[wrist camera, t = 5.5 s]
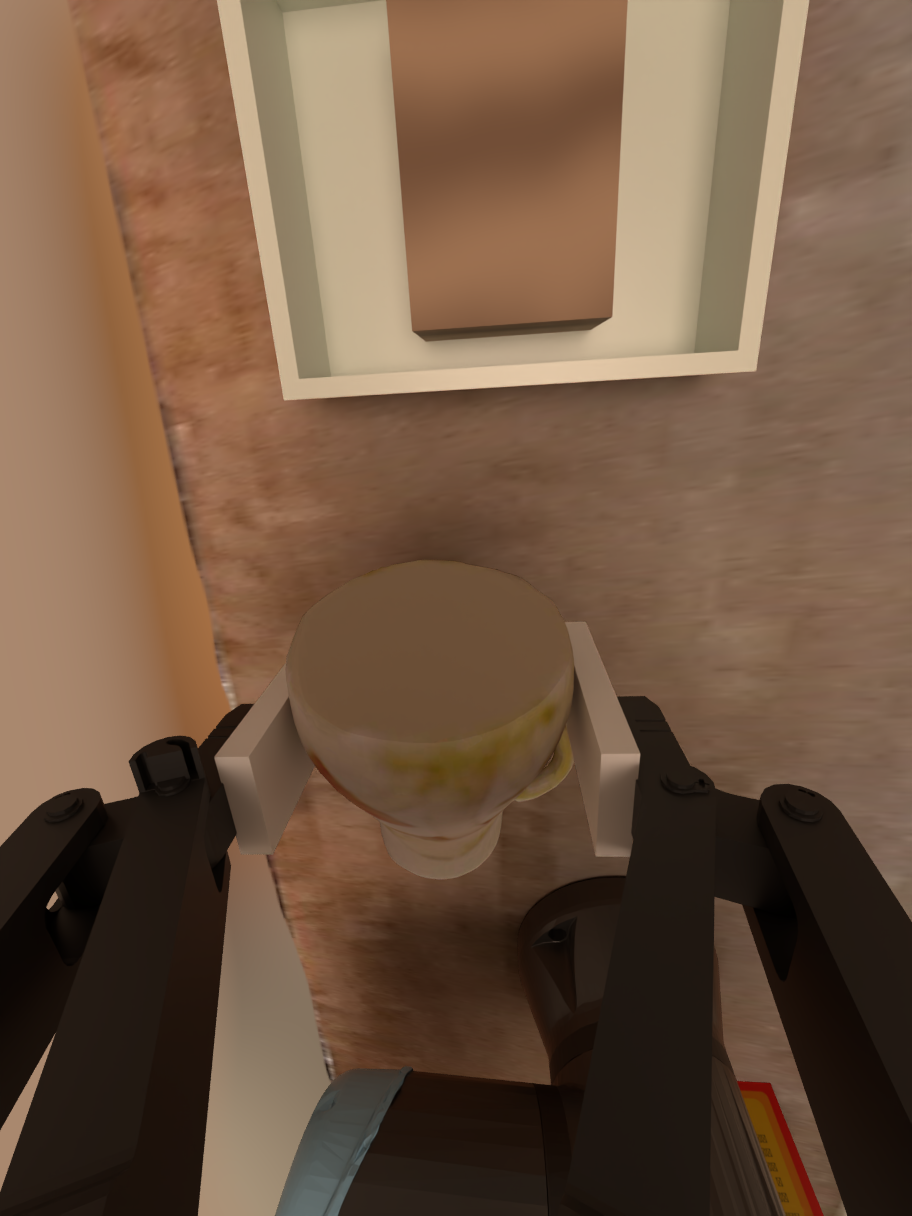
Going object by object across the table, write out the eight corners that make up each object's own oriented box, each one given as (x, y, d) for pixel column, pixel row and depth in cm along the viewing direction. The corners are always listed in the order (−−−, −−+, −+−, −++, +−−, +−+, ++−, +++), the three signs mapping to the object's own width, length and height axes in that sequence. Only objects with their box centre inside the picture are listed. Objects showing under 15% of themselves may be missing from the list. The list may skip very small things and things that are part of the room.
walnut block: (590, 330, 26) (612, 317, 21) (426, 341, 26) (412, 331, 22) (601, 24, 21) (631, -76, 17) (405, 46, 22) (382, -45, 17)
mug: (361, 818, 21) (164, 948, 11) (411, 575, 21) (267, 495, 12) (553, 876, 19) (520, 1095, 9) (601, 606, 19) (619, 543, 10)
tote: (701, 375, 27) (756, 371, 21) (324, 398, 28) (283, 400, 23) (747, -54, 21) (839, -214, 15) (269, 4, 23) (196, -121, 17)
